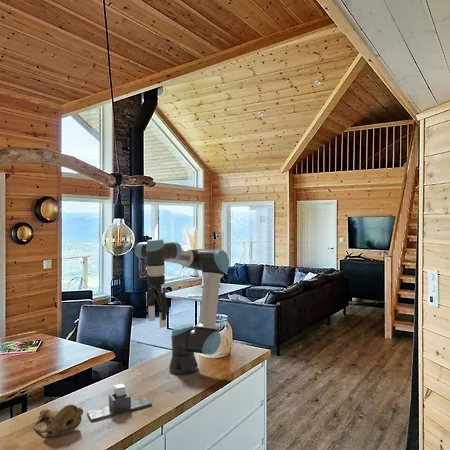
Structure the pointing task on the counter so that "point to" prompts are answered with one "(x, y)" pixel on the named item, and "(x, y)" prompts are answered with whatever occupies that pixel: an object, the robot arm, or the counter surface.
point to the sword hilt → (61, 420)
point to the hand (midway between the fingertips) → (157, 323)
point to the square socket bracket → (118, 407)
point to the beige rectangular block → (119, 391)
